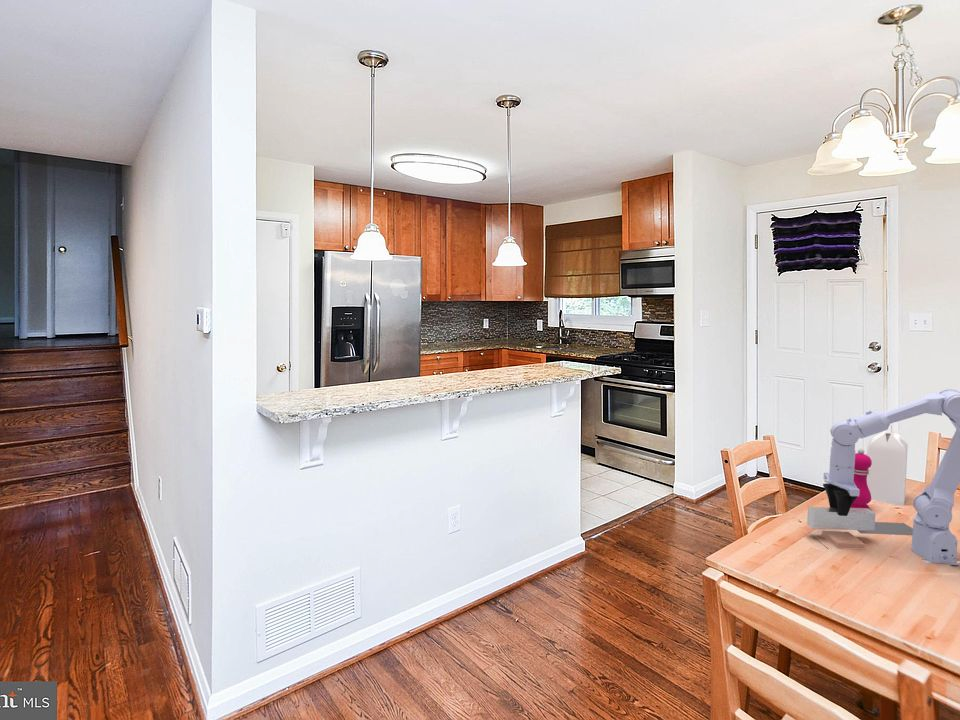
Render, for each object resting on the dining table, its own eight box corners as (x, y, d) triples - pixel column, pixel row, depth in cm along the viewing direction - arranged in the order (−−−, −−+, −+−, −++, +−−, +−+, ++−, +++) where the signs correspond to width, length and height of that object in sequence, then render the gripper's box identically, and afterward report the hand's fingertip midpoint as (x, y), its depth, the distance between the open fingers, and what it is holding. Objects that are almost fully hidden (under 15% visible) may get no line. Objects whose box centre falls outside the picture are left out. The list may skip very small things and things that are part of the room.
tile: (847, 537, 156) (864, 549, 148) (821, 536, 157) (836, 548, 149) (848, 531, 156) (864, 544, 148) (822, 530, 157) (837, 542, 149)
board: (924, 538, 157) (924, 535, 157) (860, 535, 159) (860, 533, 159) (903, 525, 166) (903, 523, 166) (843, 523, 168) (843, 520, 168)
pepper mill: (874, 514, 175) (879, 452, 173) (849, 512, 176) (853, 451, 174) (863, 506, 182) (868, 446, 180) (839, 504, 183) (843, 445, 181)
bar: (874, 530, 153) (875, 513, 152) (813, 528, 154) (814, 511, 154) (867, 525, 156) (868, 508, 156) (807, 523, 158) (807, 506, 157)
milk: (864, 489, 198) (870, 418, 195) (905, 497, 190) (911, 422, 188) (861, 499, 188) (866, 424, 186) (903, 507, 181) (910, 429, 178)
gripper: (813, 457, 161) (810, 502, 162) (840, 472, 147) (837, 522, 148) (839, 458, 160) (836, 503, 162) (869, 473, 146) (865, 523, 147)
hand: (838, 512), depth 155 cm, fingers closed on bar, 3 cm apart
